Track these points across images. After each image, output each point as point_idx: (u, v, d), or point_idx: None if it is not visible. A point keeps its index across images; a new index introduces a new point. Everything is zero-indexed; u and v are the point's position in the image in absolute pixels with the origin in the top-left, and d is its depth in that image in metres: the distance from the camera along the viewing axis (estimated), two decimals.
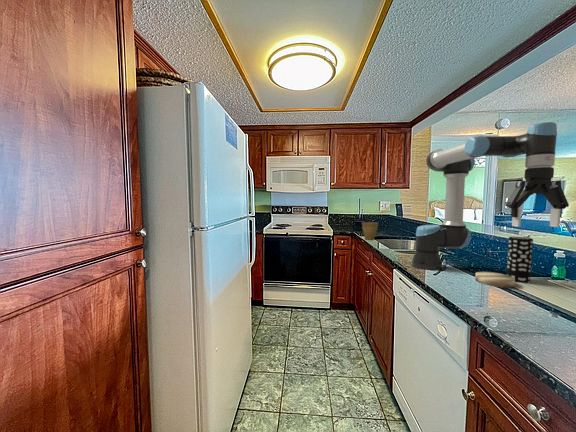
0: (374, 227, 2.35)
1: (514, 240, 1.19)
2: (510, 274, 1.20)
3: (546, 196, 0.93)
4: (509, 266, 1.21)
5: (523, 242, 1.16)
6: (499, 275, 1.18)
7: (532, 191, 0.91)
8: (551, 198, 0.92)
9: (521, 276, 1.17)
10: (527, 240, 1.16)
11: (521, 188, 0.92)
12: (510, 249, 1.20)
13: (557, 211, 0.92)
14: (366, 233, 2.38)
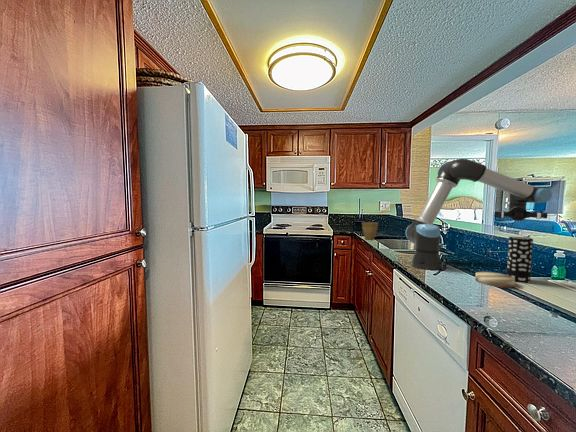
0: (374, 227, 2.35)
1: (514, 240, 1.19)
2: (510, 274, 1.20)
3: (509, 213, 1.37)
4: (509, 266, 1.21)
5: (523, 242, 1.16)
6: (499, 275, 1.18)
7: (527, 217, 1.34)
8: (508, 215, 1.37)
9: (521, 276, 1.17)
10: (527, 240, 1.16)
11: None
12: (510, 249, 1.20)
13: (503, 216, 1.35)
14: (366, 233, 2.38)
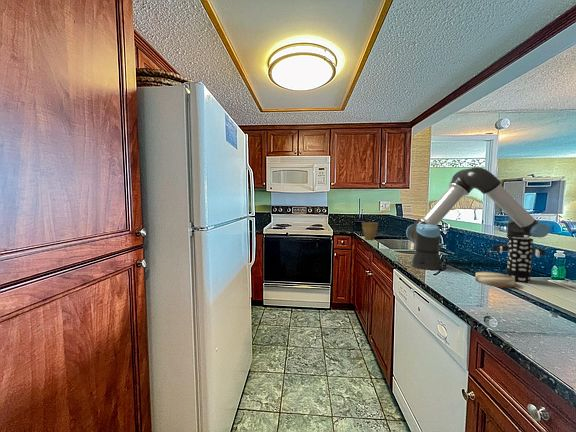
0: (374, 227, 2.35)
1: (514, 240, 1.19)
2: (510, 274, 1.20)
3: None
4: (509, 266, 1.21)
5: (523, 242, 1.16)
6: (499, 275, 1.18)
7: None
8: (506, 249, 1.37)
9: (521, 276, 1.17)
10: (527, 240, 1.16)
11: None
12: (510, 249, 1.20)
13: None
14: (366, 233, 2.38)
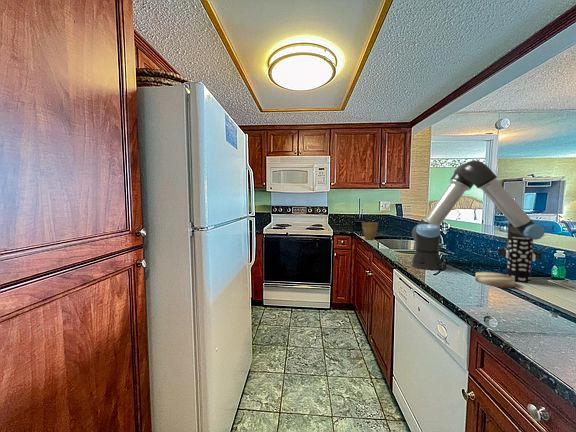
0: (374, 227, 2.35)
1: (514, 240, 1.19)
2: (510, 274, 1.20)
3: None
4: (509, 266, 1.21)
5: (523, 242, 1.16)
6: (499, 275, 1.18)
7: None
8: None
9: (521, 276, 1.17)
10: (527, 240, 1.16)
11: None
12: (510, 249, 1.21)
13: None
14: (366, 233, 2.38)
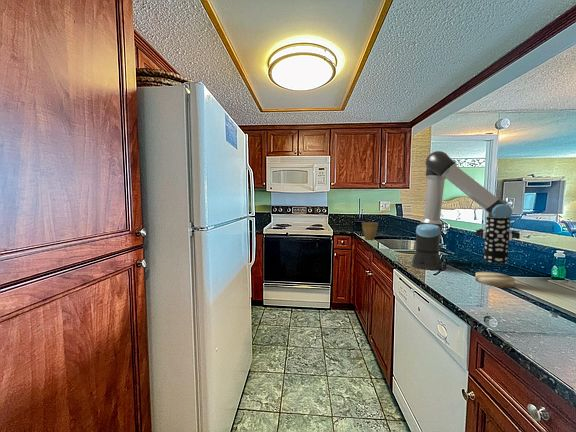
0: (374, 227, 2.35)
1: (491, 219, 1.14)
2: (487, 255, 1.16)
3: None
4: (486, 247, 1.17)
5: (500, 221, 1.12)
6: (499, 275, 1.18)
7: None
8: None
9: (498, 256, 1.13)
10: (504, 219, 1.11)
11: None
12: (487, 229, 1.16)
13: None
14: (366, 233, 2.38)
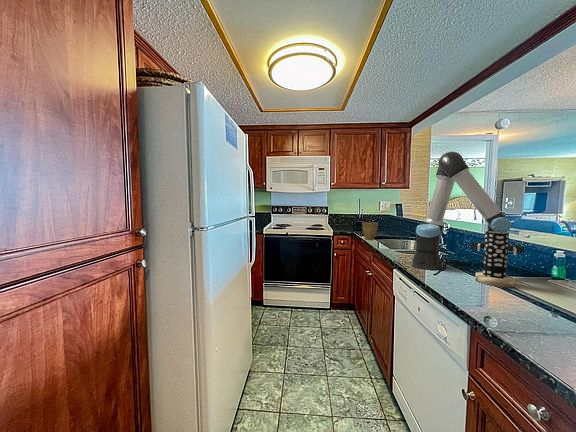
0: (374, 227, 2.35)
1: (490, 234, 1.15)
2: (486, 270, 1.17)
3: None
4: (485, 261, 1.17)
5: (499, 236, 1.13)
6: None
7: None
8: None
9: (497, 271, 1.13)
10: (503, 234, 1.12)
11: None
12: (486, 244, 1.17)
13: None
14: (366, 233, 2.38)
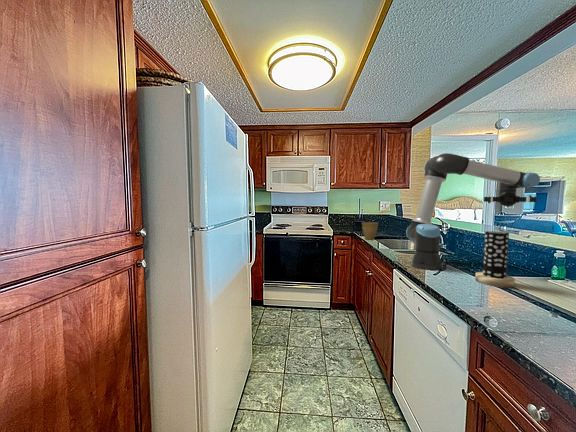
0: (374, 227, 2.35)
1: (490, 234, 1.15)
2: (486, 270, 1.17)
3: (499, 198, 1.36)
4: (485, 261, 1.17)
5: (499, 236, 1.12)
6: None
7: (516, 202, 1.33)
8: (497, 200, 1.36)
9: (497, 272, 1.13)
10: (502, 234, 1.12)
11: None
12: (486, 244, 1.17)
13: None
14: (366, 233, 2.38)
